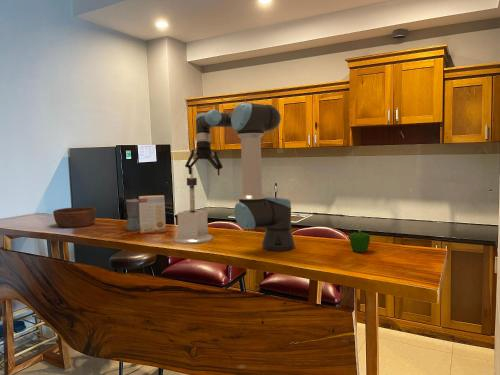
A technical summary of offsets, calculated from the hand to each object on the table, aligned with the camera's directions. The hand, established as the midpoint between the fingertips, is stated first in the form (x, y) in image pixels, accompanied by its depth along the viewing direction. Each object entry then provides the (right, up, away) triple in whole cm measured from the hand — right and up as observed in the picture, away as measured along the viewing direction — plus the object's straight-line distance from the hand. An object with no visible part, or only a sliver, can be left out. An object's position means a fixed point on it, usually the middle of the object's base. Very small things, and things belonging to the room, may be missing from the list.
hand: (204, 181), depth 195 cm
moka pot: (-45, -29, +23) cm, 58 cm away
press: (-5, -30, -6) cm, 31 cm away
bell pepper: (+72, -32, -34) cm, 86 cm away
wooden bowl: (-88, -28, +41) cm, 101 cm away
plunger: (-5, -20, -7) cm, 22 cm away
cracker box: (-31, -29, +14) cm, 45 cm away
